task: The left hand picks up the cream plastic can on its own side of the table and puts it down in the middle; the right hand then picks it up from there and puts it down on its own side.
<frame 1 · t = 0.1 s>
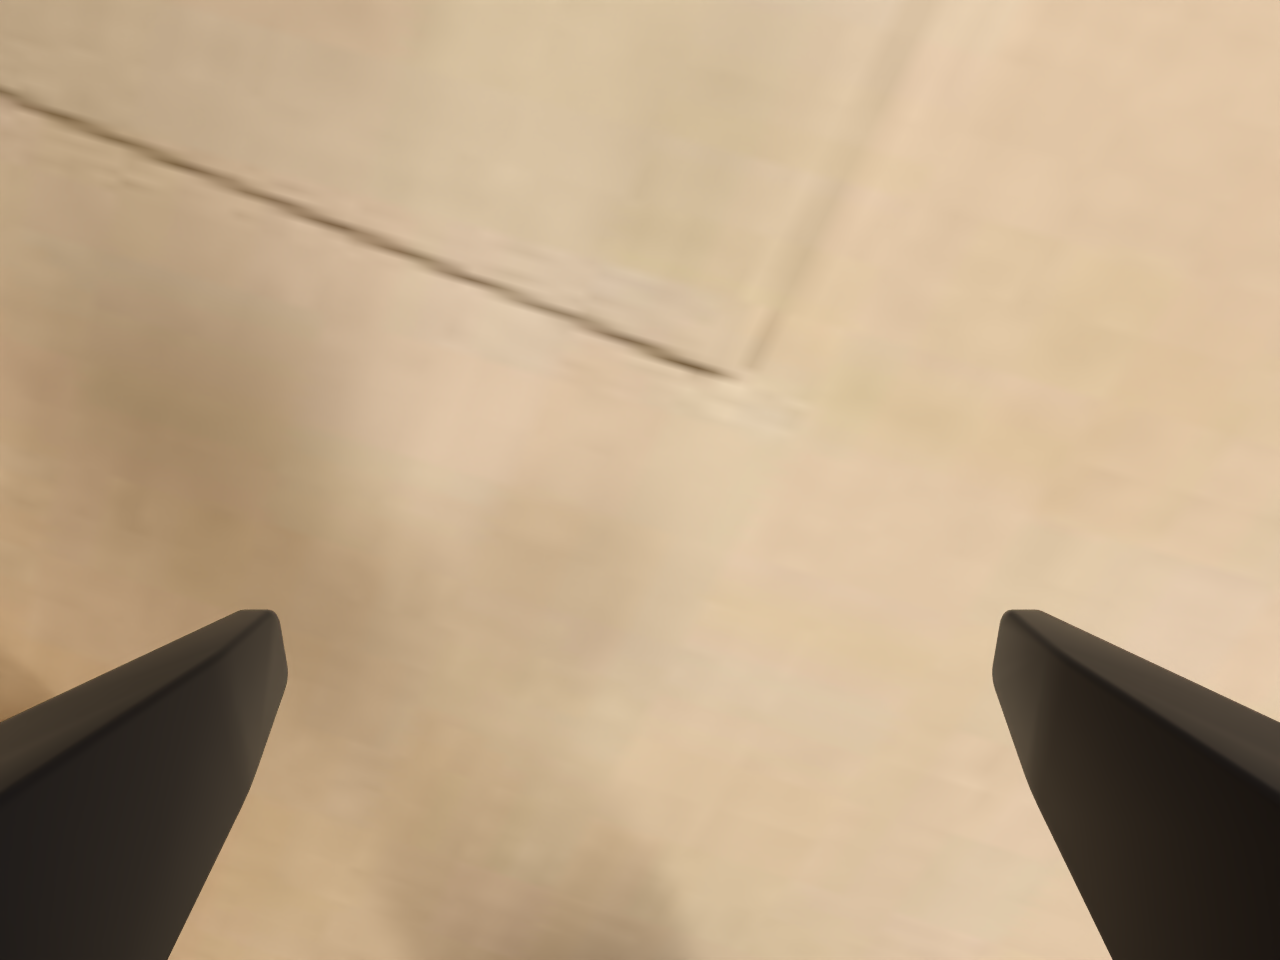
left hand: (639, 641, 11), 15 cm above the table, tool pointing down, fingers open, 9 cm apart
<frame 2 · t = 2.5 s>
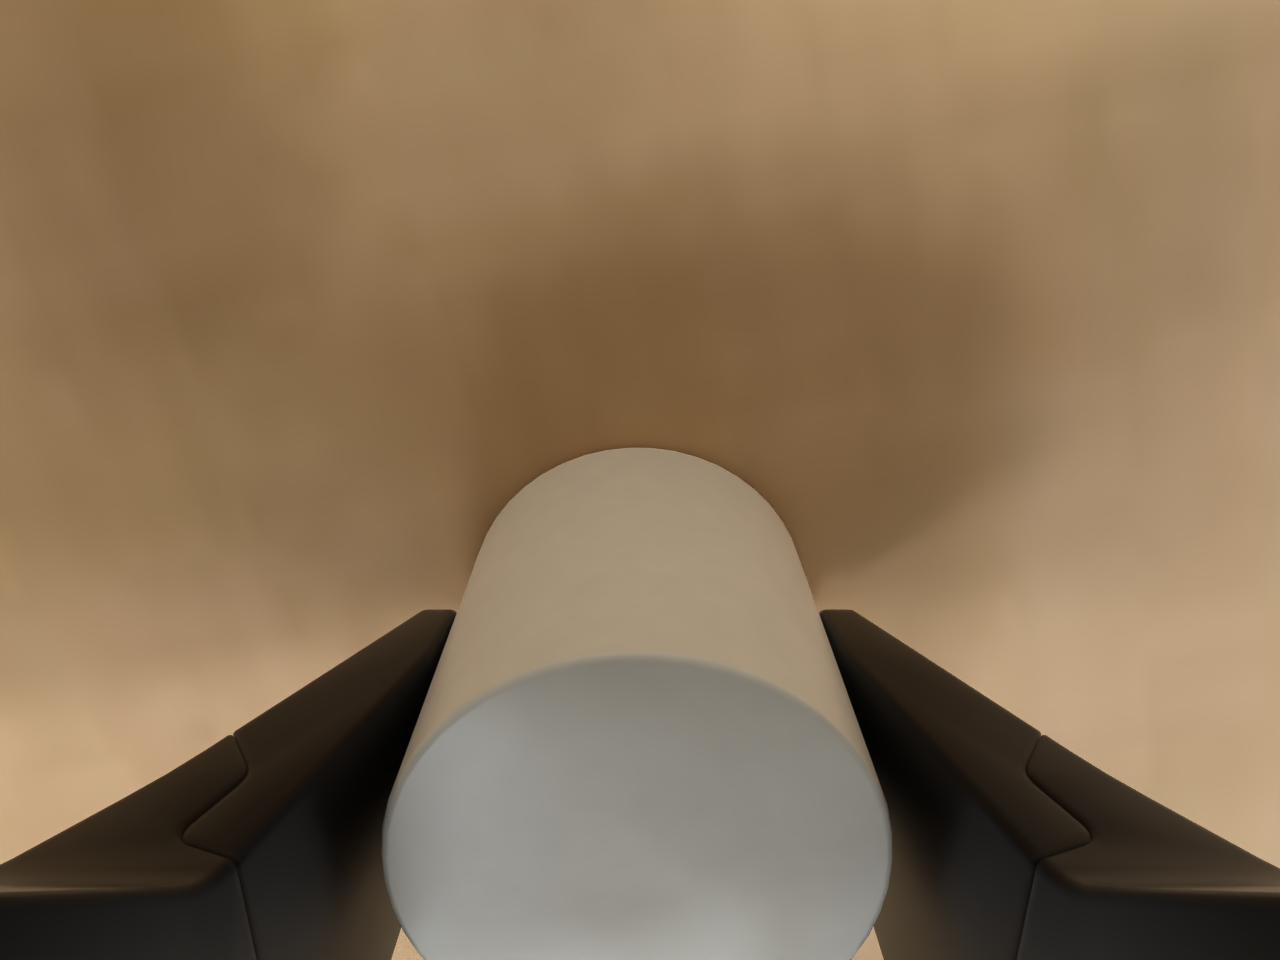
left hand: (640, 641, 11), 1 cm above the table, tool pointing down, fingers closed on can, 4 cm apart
can: (638, 600, 12), on the table, touching left hand
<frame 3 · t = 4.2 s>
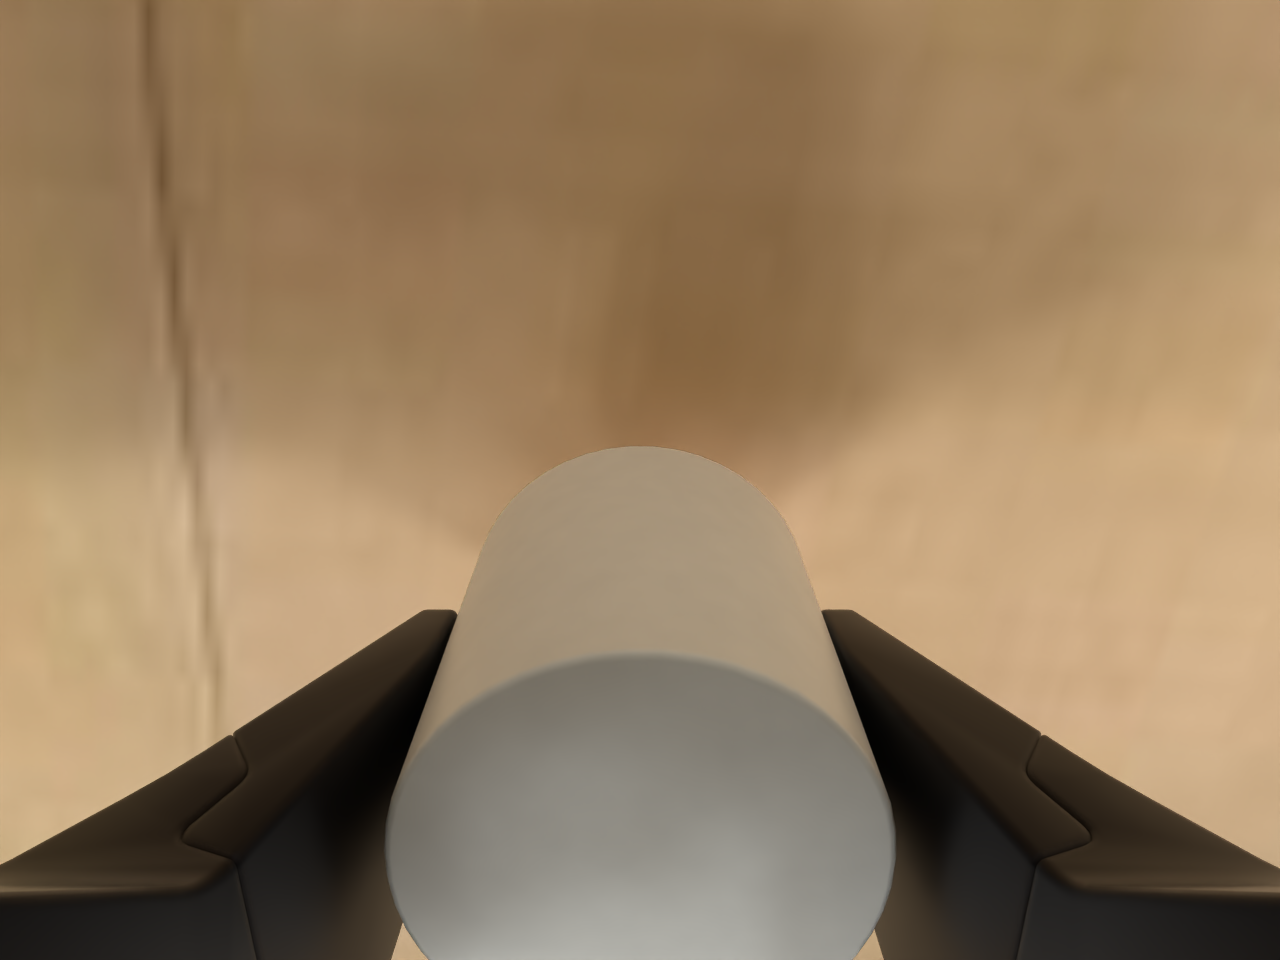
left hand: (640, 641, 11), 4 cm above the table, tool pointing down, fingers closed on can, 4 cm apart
can: (640, 598, 12), point 3 cm above the table, touching left hand
when the left hand's fingers open (2 cm above the table, at t = 6.1 s): can stays where it is, on the table.
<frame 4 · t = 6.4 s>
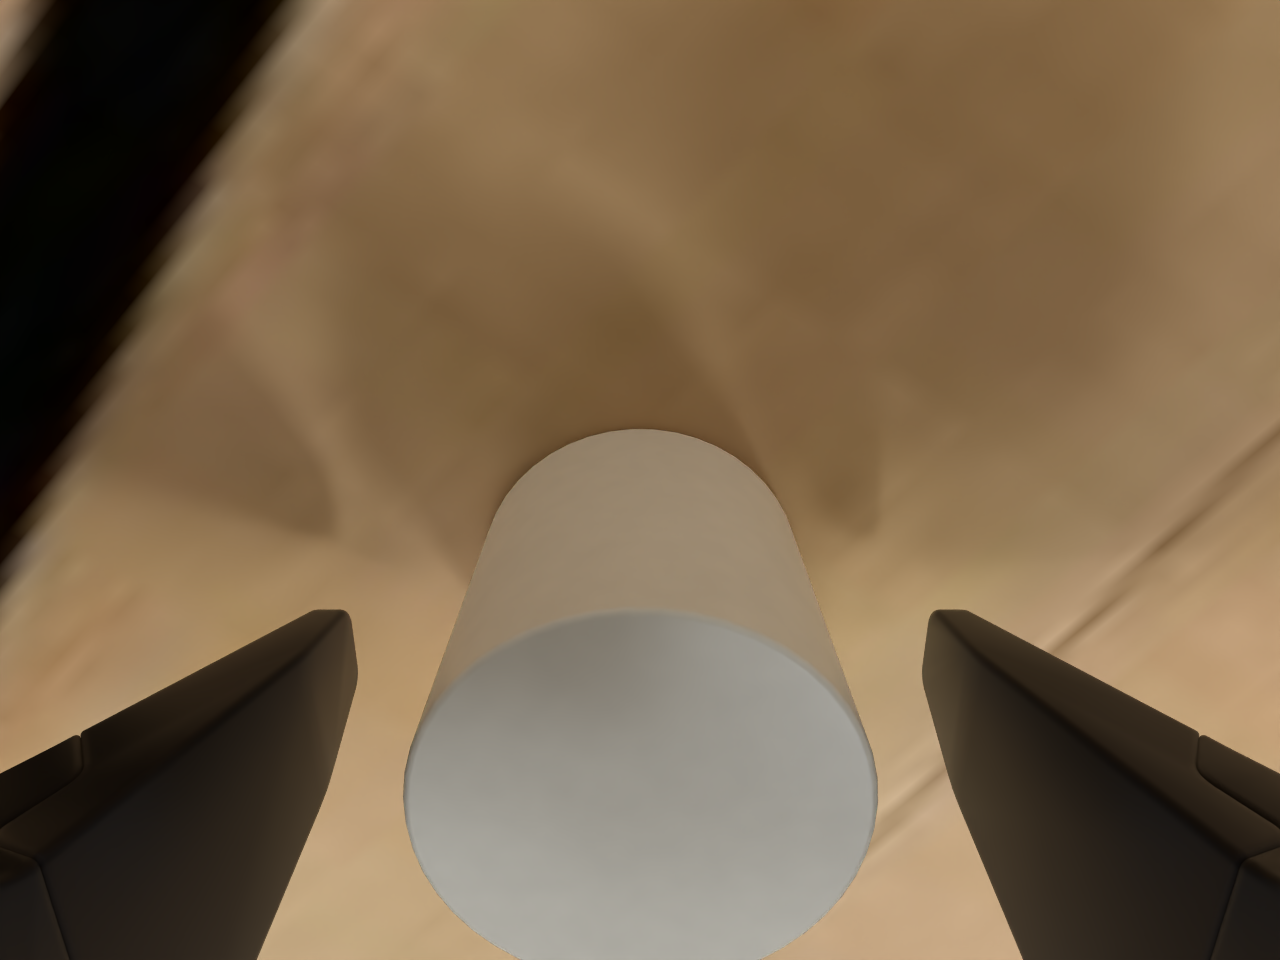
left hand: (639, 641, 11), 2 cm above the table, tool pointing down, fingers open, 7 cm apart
can: (640, 575, 13), on the table
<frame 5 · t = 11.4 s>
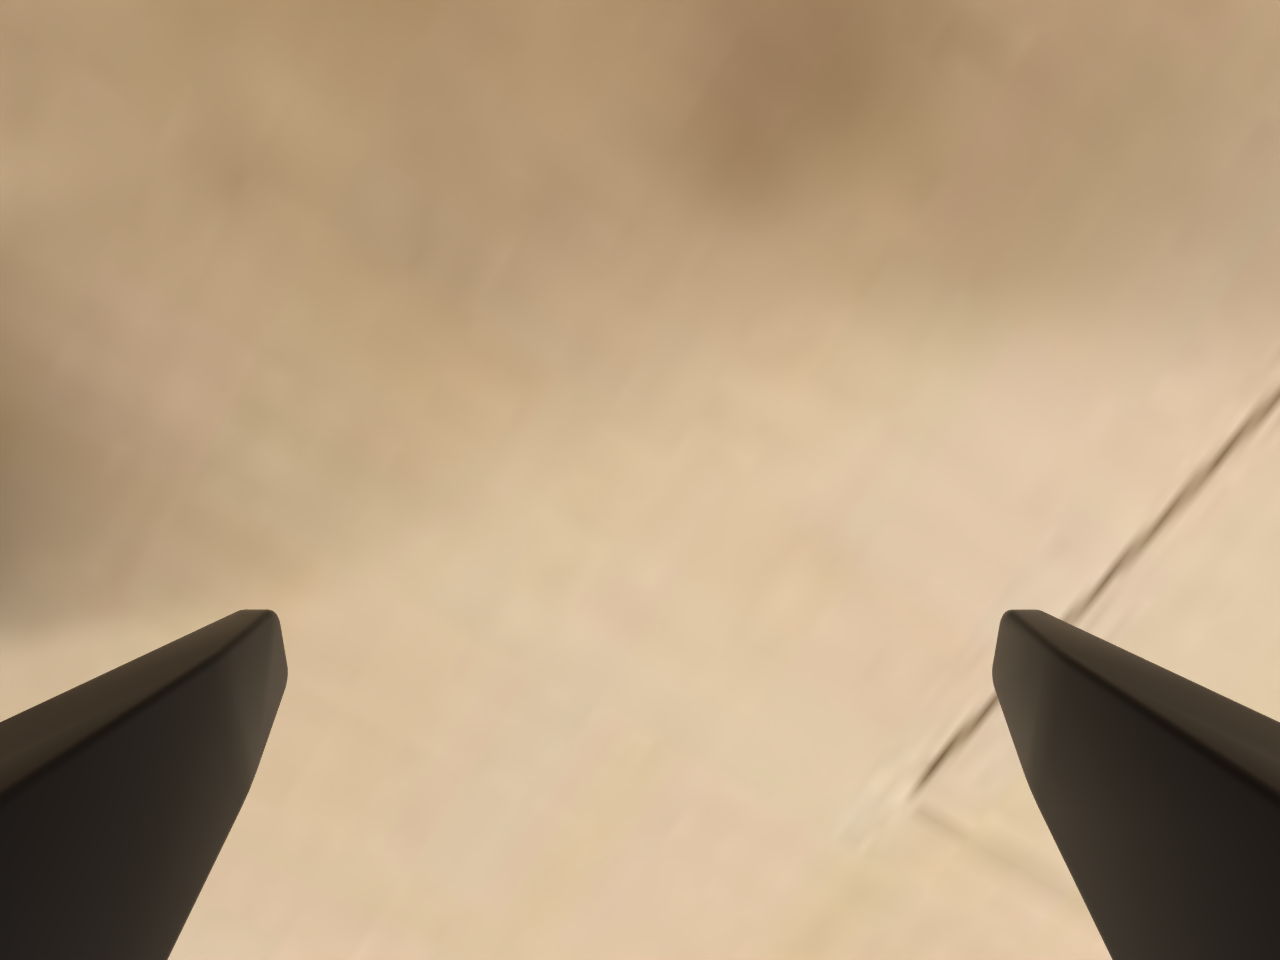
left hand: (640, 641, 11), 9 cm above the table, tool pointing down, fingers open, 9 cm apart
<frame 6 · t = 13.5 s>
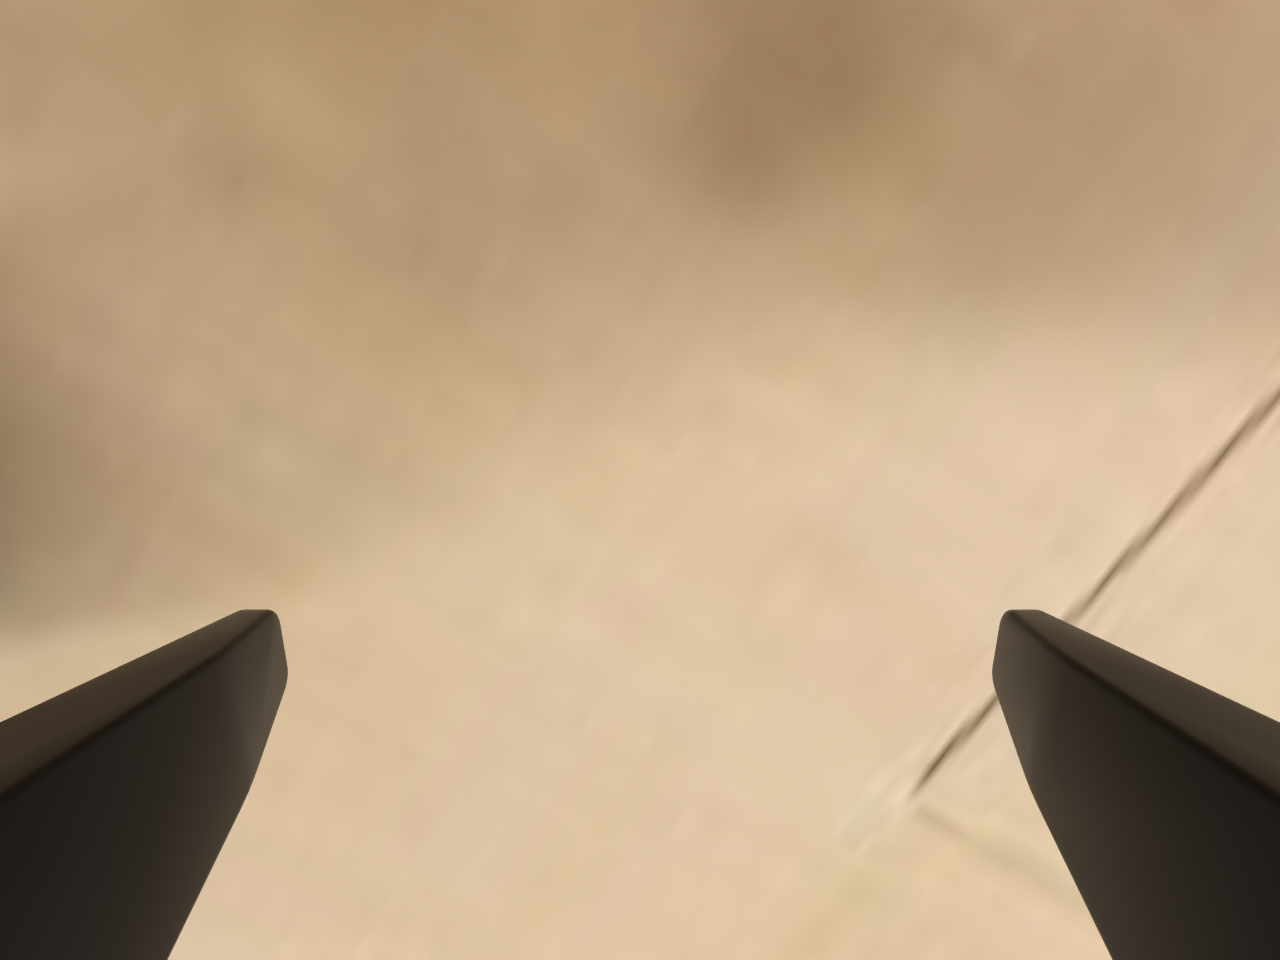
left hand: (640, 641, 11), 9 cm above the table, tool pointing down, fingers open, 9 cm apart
when the right hand's fingers open (2 cm above the table, at t = 15.6 s): can stays where it is, on the table.
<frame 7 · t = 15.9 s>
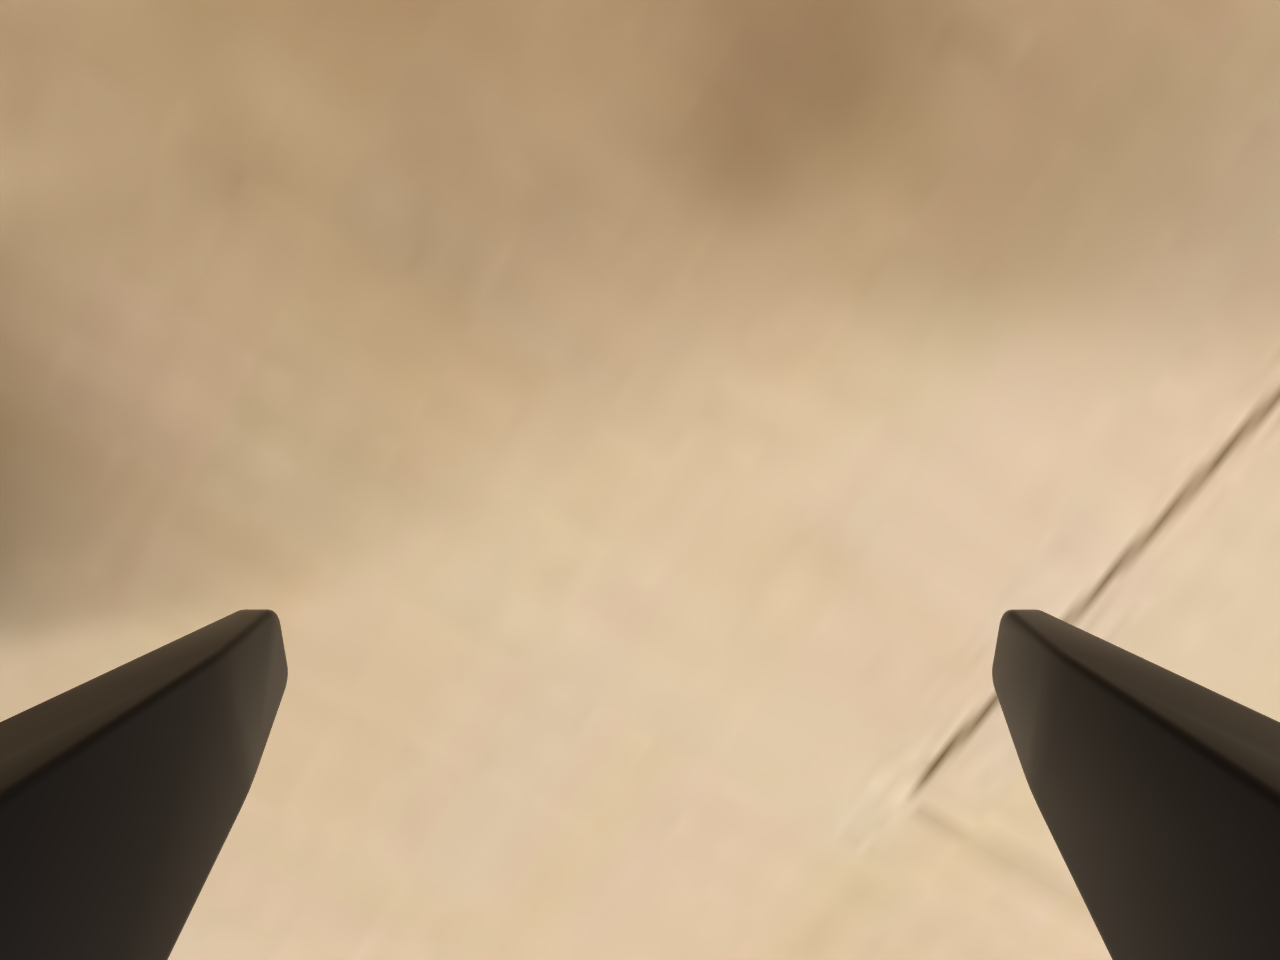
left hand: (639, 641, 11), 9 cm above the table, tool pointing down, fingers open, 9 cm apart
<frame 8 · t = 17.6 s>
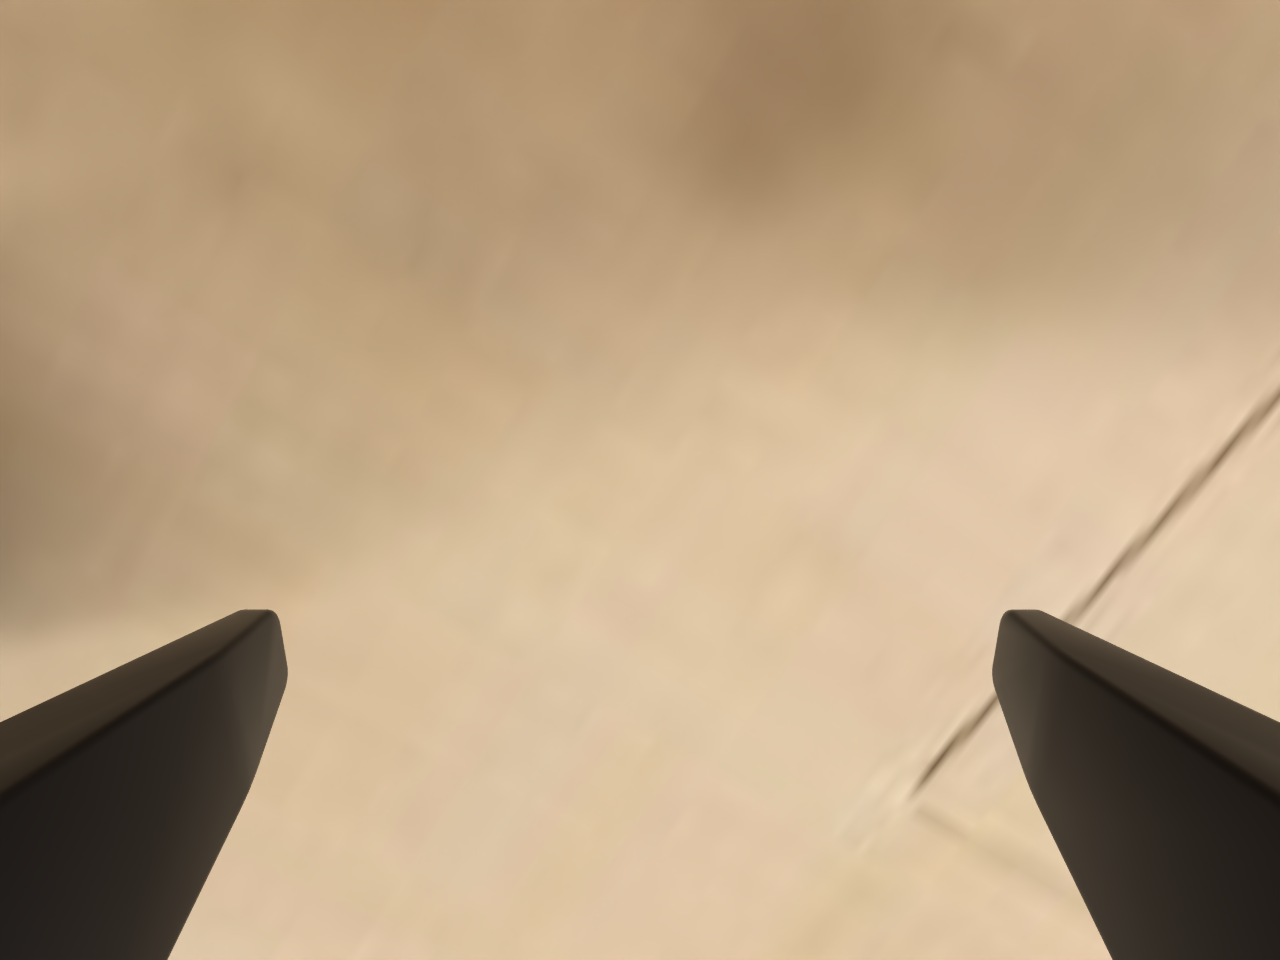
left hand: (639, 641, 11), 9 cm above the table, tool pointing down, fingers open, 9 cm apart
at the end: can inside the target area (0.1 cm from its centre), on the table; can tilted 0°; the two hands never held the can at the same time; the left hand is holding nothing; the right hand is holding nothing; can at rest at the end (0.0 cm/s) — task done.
